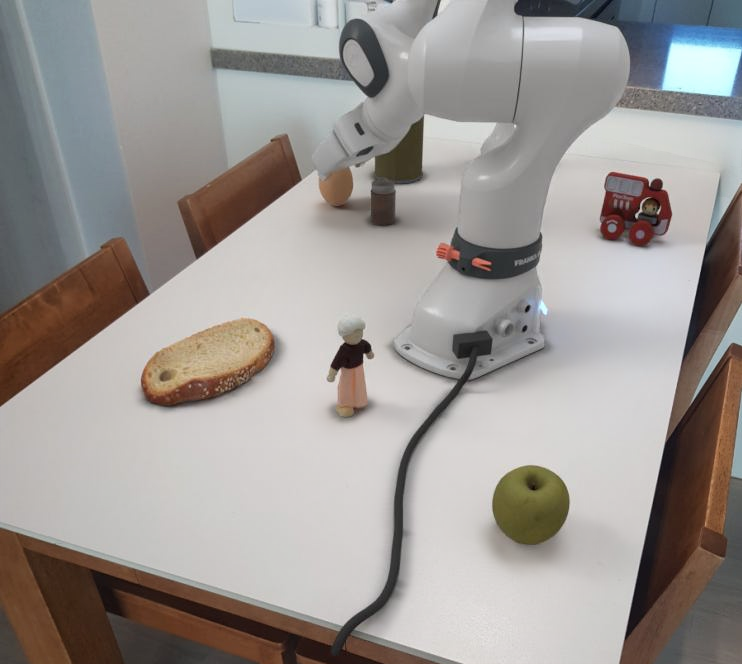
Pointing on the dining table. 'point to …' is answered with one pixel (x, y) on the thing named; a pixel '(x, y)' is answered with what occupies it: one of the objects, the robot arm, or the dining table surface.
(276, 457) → the dining table surface
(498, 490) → the apple
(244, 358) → the slice of bread
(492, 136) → the flower vase
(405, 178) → the canister
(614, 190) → the toy fire truck
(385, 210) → the pepper shaker
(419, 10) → the robot arm
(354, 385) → the grandmother figurine
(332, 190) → the egg
